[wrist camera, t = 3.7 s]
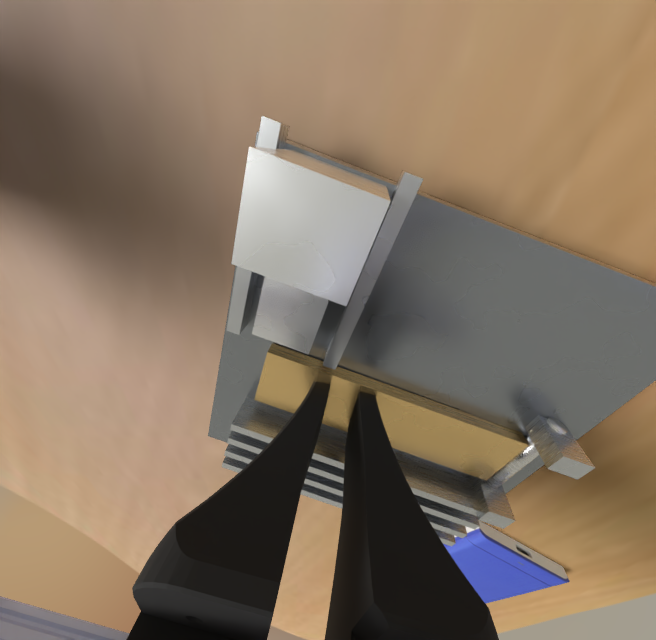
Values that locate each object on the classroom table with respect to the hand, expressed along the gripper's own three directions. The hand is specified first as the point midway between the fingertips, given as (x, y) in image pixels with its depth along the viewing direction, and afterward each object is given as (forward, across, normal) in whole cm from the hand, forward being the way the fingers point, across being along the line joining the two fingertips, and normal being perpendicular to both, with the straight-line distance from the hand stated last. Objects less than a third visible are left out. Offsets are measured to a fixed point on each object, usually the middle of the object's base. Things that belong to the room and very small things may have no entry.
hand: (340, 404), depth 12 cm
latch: (+1, +2, -6) cm, 6 cm away
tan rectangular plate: (+1, -2, 0) cm, 2 cm away
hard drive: (+3, -12, +17) cm, 22 cm away
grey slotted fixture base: (+3, -2, -1) cm, 3 cm away
